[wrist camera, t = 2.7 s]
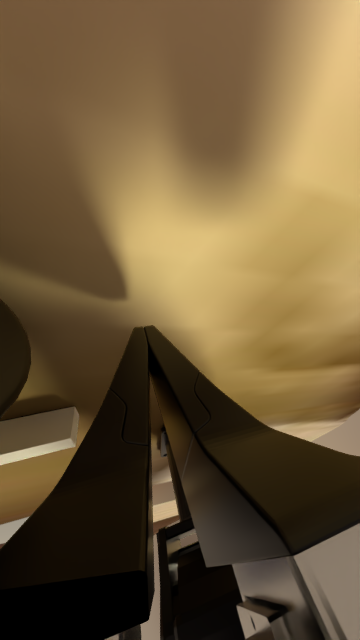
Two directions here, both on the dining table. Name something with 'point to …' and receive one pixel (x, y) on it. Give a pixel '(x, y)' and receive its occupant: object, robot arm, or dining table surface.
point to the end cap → (12, 357)
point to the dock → (38, 434)
